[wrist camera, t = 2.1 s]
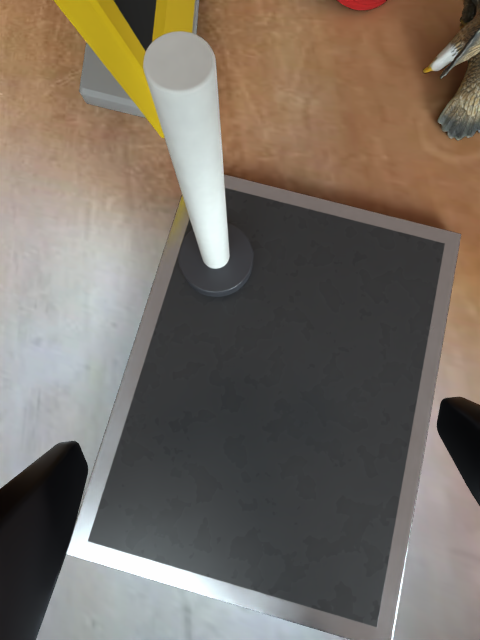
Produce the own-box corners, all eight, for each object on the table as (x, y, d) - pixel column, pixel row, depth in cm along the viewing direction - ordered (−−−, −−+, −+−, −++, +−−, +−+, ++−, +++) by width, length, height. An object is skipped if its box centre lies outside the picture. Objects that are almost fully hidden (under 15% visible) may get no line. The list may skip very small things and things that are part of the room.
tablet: (384, 640, 18) (391, 654, 17) (72, 546, 18) (63, 555, 17) (453, 238, 21) (463, 232, 20) (192, 172, 22) (190, 164, 21)
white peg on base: (242, 305, 20) (250, 174, 7) (172, 286, 20) (48, 123, 7) (260, 239, 20) (300, 2, 7) (193, 221, 20) (115, -42, 7)
